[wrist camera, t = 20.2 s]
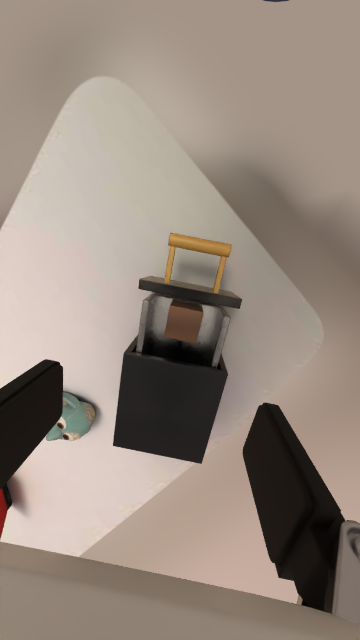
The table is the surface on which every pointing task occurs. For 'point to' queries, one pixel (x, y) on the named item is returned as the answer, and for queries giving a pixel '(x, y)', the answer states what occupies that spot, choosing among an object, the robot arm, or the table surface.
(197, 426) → the cabinet
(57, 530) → the table surface
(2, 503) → the handheld console
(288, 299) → the table surface
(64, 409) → the stuffed animal
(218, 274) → the drawer
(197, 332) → the block
